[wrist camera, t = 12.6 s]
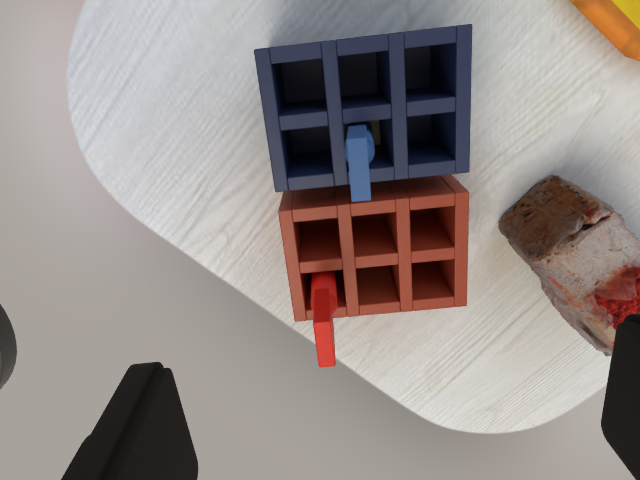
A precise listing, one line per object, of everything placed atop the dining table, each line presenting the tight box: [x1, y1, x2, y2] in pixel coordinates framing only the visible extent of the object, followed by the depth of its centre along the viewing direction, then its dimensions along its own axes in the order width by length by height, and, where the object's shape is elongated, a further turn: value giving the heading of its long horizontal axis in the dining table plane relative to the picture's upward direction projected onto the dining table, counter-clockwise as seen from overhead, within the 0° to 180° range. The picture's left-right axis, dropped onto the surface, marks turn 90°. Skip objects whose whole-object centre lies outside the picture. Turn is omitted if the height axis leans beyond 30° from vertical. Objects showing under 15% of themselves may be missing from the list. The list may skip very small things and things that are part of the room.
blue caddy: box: [254, 24, 472, 192], centre depth 32 cm, size 13×9×8 cm
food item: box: [499, 176, 640, 356], centre depth 36 cm, size 14×8×10 cm, turn 47°
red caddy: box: [278, 174, 469, 322], centre depth 36 cm, size 13×9×8 cm
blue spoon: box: [344, 121, 375, 202], centre depth 29 cm, size 2×3×14 cm, turn 6°
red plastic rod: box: [311, 270, 337, 367], centre depth 33 cm, size 2×3×14 cm, turn 6°
